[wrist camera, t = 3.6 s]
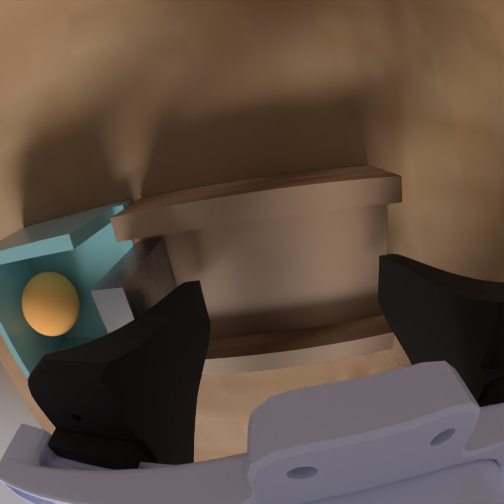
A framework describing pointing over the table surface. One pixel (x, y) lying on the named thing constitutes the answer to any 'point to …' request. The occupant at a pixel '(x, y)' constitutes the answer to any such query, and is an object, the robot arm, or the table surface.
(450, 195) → the table surface
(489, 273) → the table surface
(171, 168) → the table surface
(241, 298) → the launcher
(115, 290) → the plunger
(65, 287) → the ball
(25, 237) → the teal open box
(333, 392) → the robot arm
